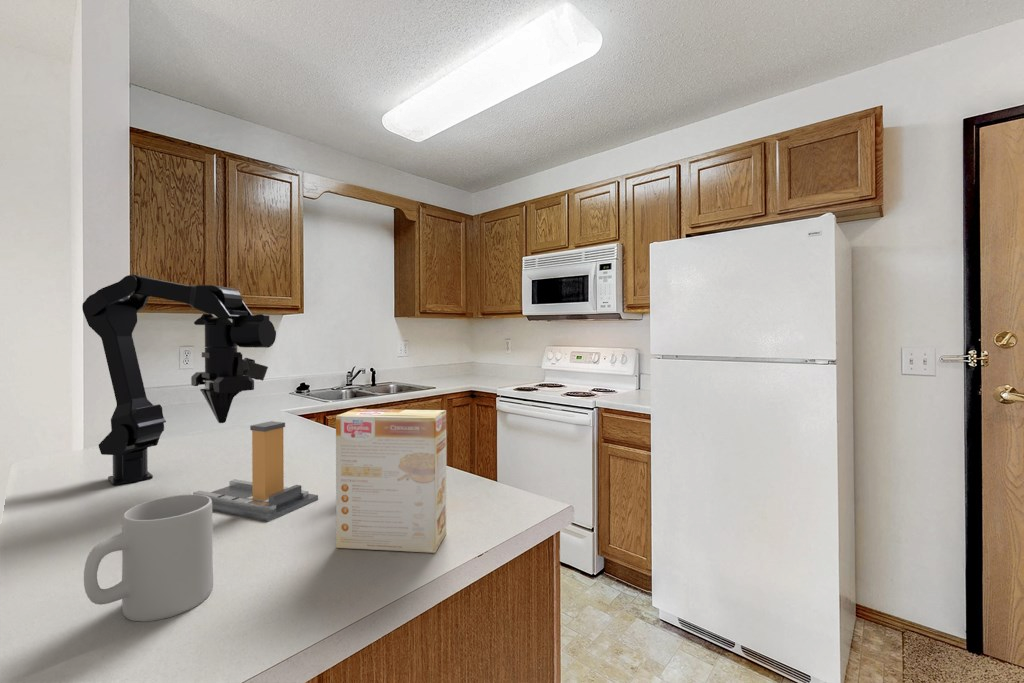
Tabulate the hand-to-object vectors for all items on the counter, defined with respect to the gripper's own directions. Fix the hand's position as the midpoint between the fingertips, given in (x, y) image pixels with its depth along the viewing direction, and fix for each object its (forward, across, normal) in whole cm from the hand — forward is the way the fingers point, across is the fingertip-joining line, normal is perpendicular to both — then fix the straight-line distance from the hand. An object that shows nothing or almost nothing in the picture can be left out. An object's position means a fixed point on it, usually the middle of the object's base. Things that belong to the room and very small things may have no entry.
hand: (221, 422), depth 96 cm
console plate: (+12, -16, 0) cm, 21 cm away
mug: (+13, -43, +20) cm, 49 cm away
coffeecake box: (+13, -49, -8) cm, 51 cm away
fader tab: (+12, -20, -1) cm, 24 cm away
